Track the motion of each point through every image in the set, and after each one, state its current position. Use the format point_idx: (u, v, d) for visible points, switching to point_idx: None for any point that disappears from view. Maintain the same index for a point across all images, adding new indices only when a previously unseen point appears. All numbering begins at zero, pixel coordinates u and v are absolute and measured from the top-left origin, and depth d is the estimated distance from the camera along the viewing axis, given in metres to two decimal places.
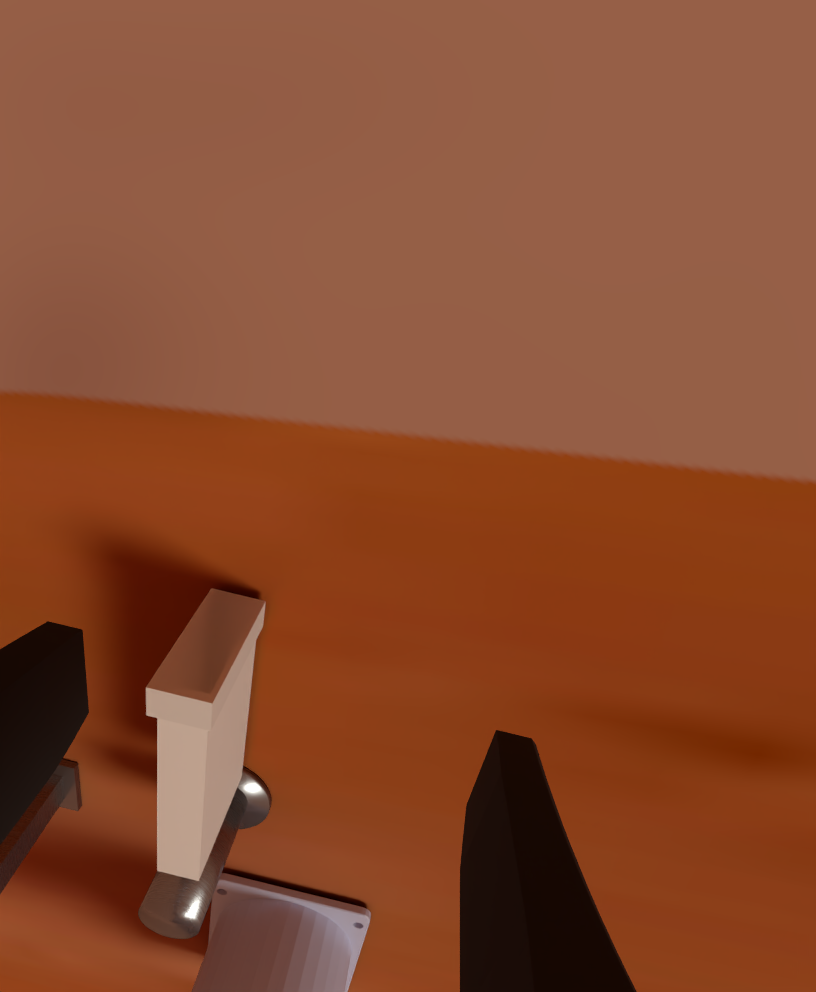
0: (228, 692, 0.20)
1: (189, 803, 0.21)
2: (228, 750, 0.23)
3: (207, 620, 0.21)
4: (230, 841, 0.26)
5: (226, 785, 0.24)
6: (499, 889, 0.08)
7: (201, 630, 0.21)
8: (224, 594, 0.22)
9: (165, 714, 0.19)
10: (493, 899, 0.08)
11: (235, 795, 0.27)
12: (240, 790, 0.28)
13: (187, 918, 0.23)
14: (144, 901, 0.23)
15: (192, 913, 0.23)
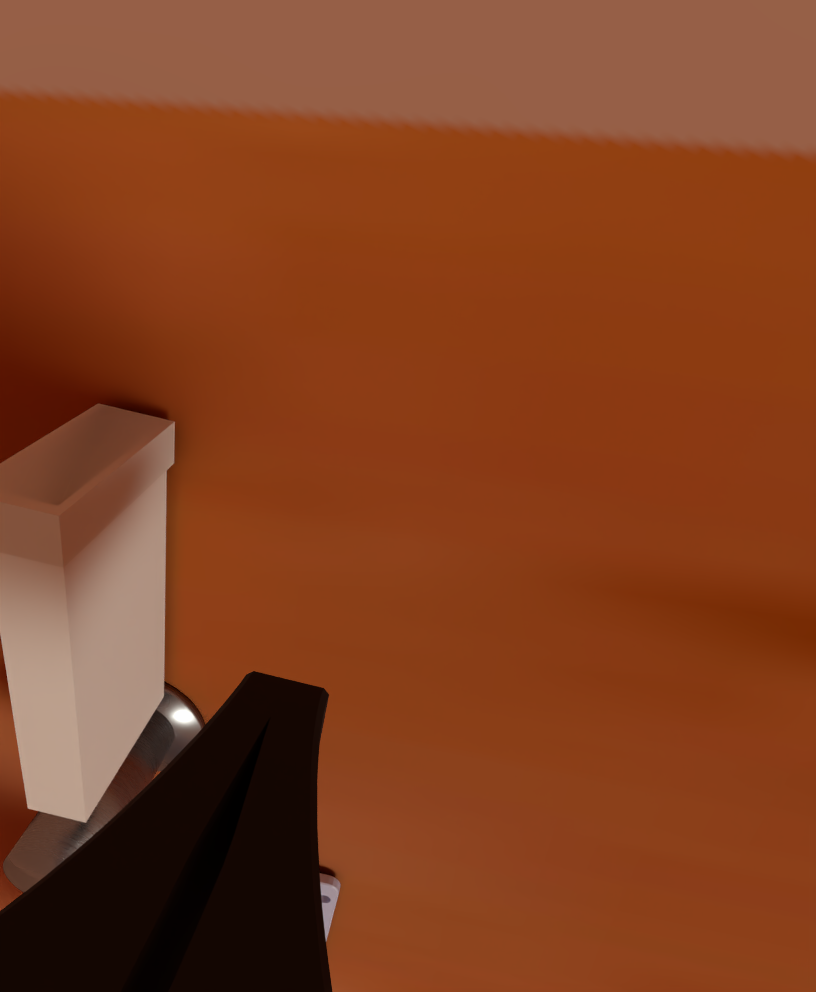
0: (102, 523, 0.13)
1: (55, 700, 0.15)
2: (126, 638, 0.16)
3: (81, 432, 0.14)
4: (144, 779, 0.20)
5: (130, 694, 0.18)
6: None
7: (68, 441, 0.14)
8: (115, 410, 0.16)
9: None
10: None
11: (156, 721, 0.21)
12: (163, 716, 0.21)
13: None
14: (11, 851, 0.17)
15: None
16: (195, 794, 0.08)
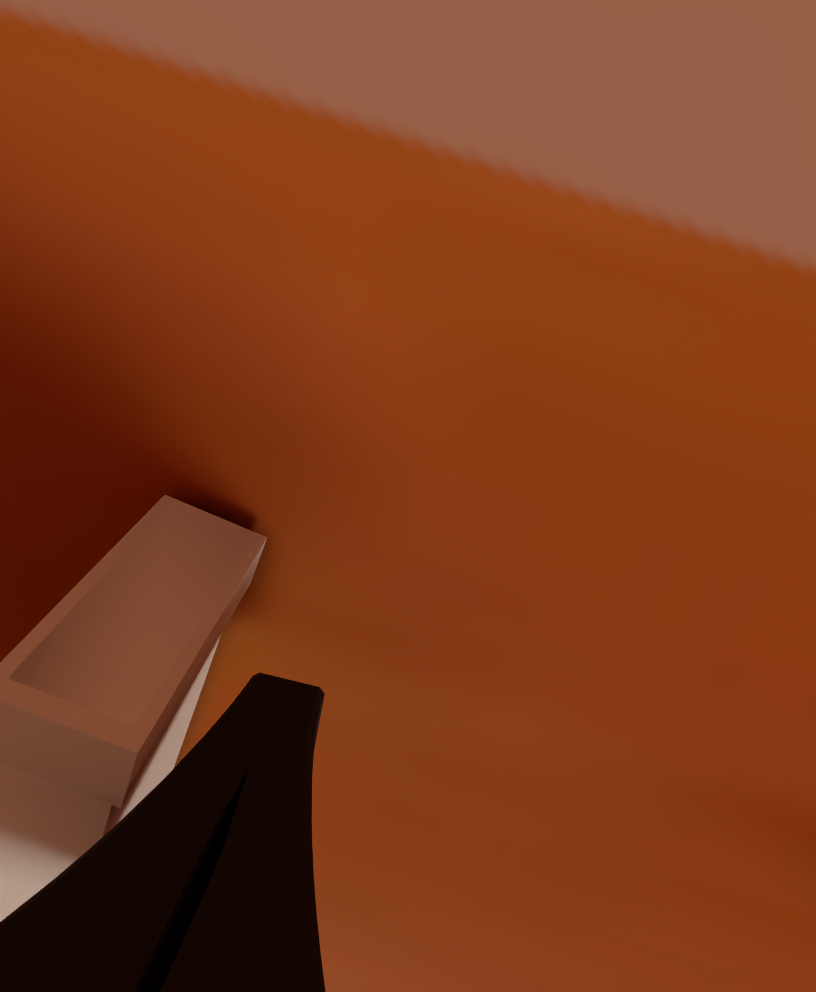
0: (172, 715, 0.09)
1: None
2: None
3: (149, 554, 0.10)
4: None
5: None
6: None
7: (134, 573, 0.10)
8: (189, 510, 0.11)
9: (15, 756, 0.08)
10: None
11: None
12: None
13: None
14: None
15: None
16: (203, 796, 0.08)
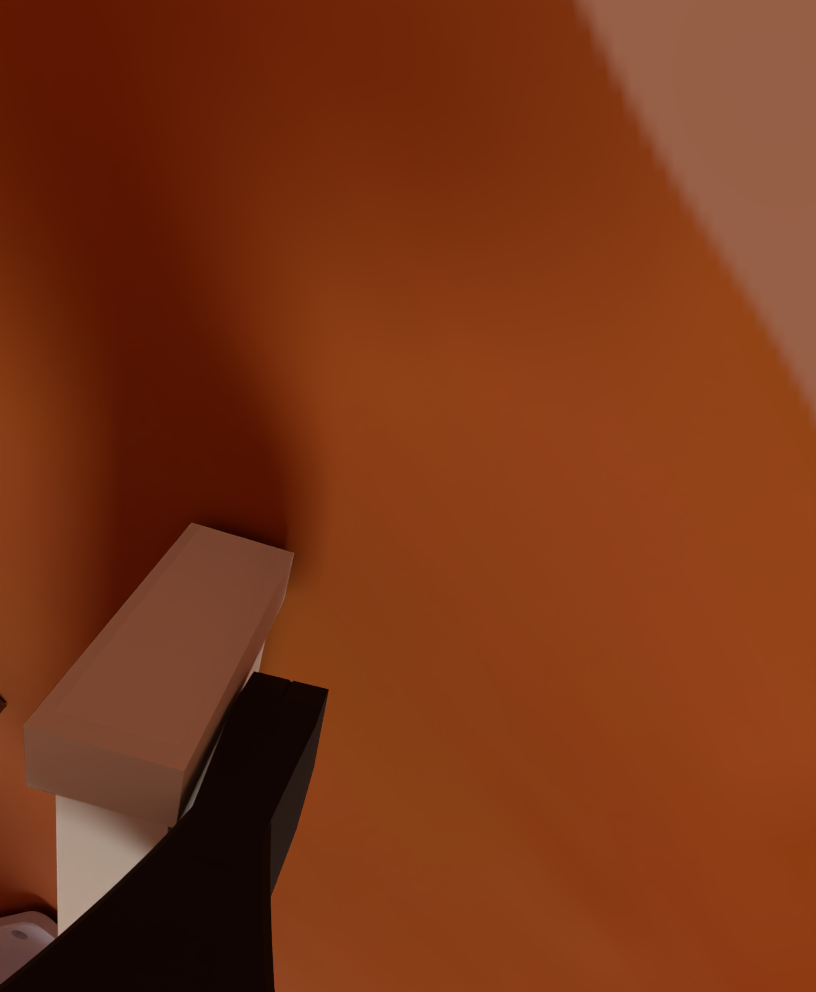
0: (218, 734, 0.09)
1: None
2: None
3: (181, 581, 0.10)
4: None
5: None
6: None
7: (167, 600, 0.10)
8: (216, 535, 0.12)
9: (70, 786, 0.08)
10: None
11: None
12: None
13: None
14: None
15: None
16: (248, 807, 0.08)
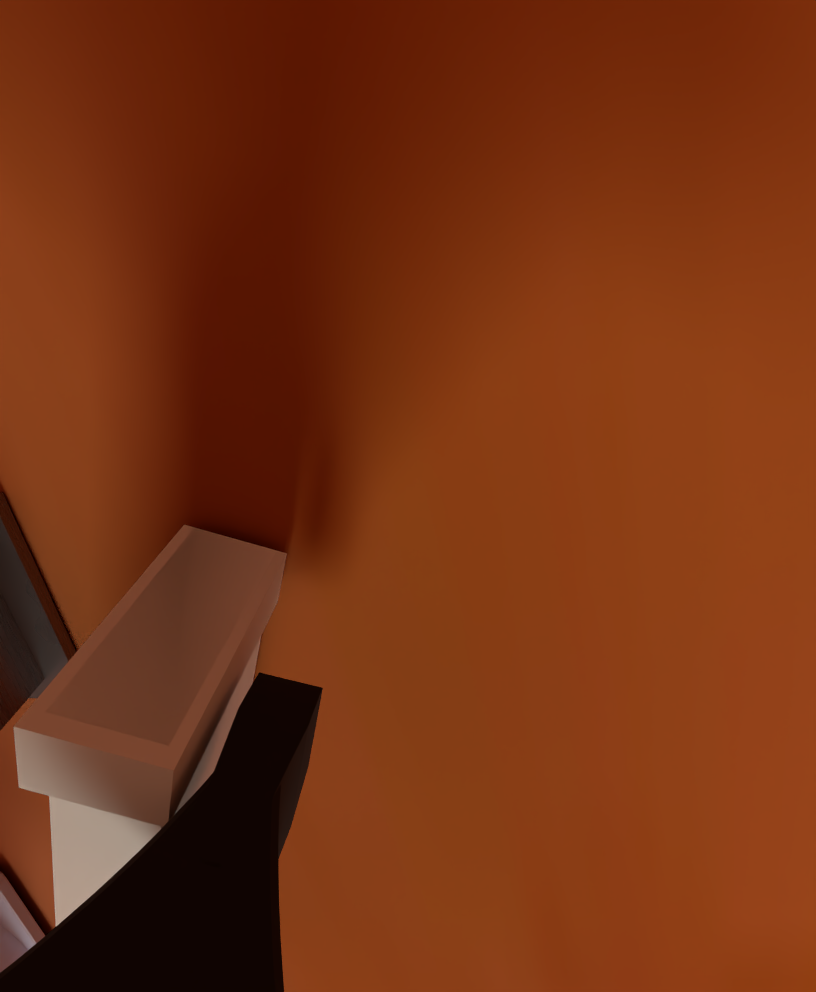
0: (210, 734, 0.09)
1: None
2: None
3: (173, 582, 0.10)
4: None
5: None
6: None
7: (159, 602, 0.10)
8: (208, 537, 0.12)
9: (62, 787, 0.08)
10: None
11: None
12: None
13: None
14: None
15: None
16: (240, 805, 0.08)
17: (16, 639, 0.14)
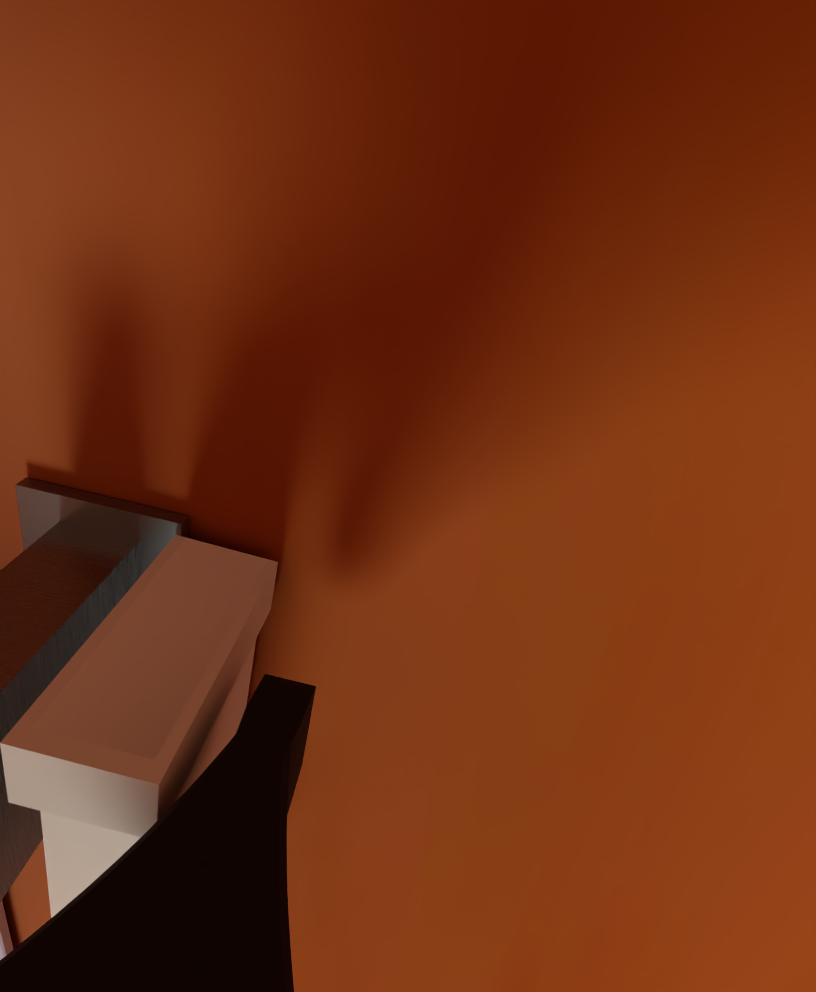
0: (200, 746, 0.09)
1: None
2: None
3: (162, 593, 0.10)
4: None
5: None
6: None
7: (148, 614, 0.10)
8: (199, 547, 0.12)
9: (50, 802, 0.08)
10: None
11: None
12: None
13: None
14: None
15: None
16: (231, 803, 0.08)
17: None
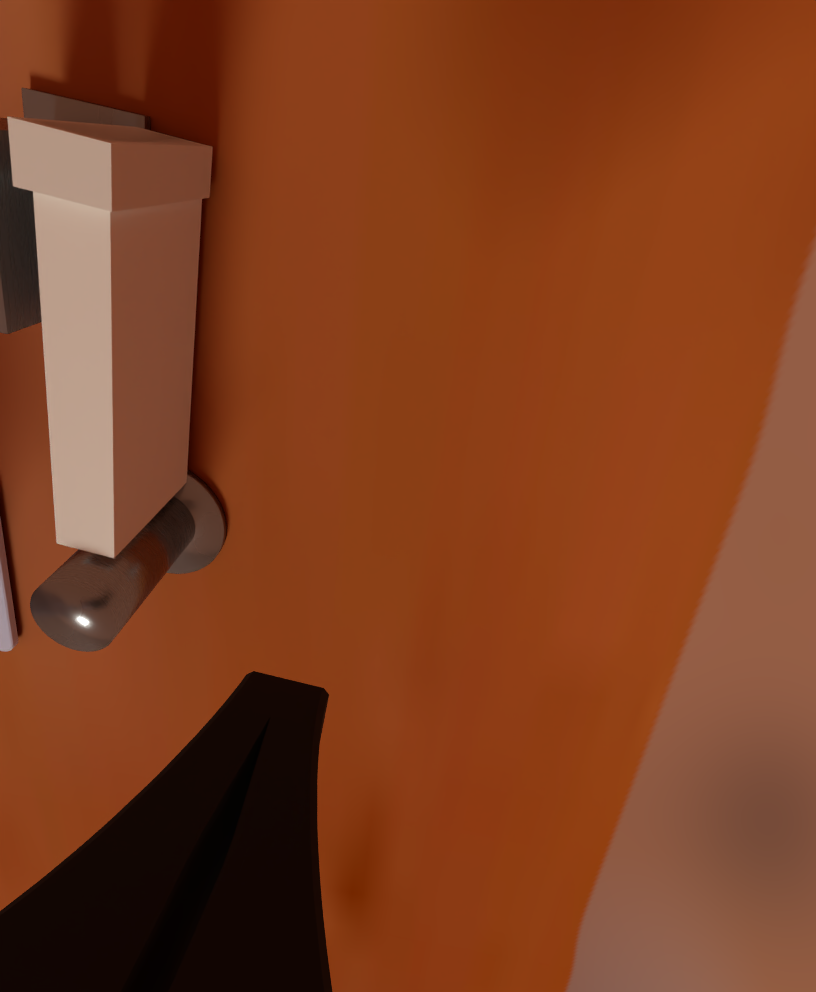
0: (146, 197, 0.13)
1: (92, 398, 0.15)
2: (158, 372, 0.17)
3: (123, 129, 0.14)
4: None
5: (158, 445, 0.18)
6: None
7: (112, 129, 0.14)
8: None
9: (41, 179, 0.12)
10: None
11: None
12: (185, 547, 0.22)
13: (92, 641, 0.17)
14: (95, 590, 0.17)
15: (104, 646, 0.18)
16: (195, 794, 0.08)
17: None
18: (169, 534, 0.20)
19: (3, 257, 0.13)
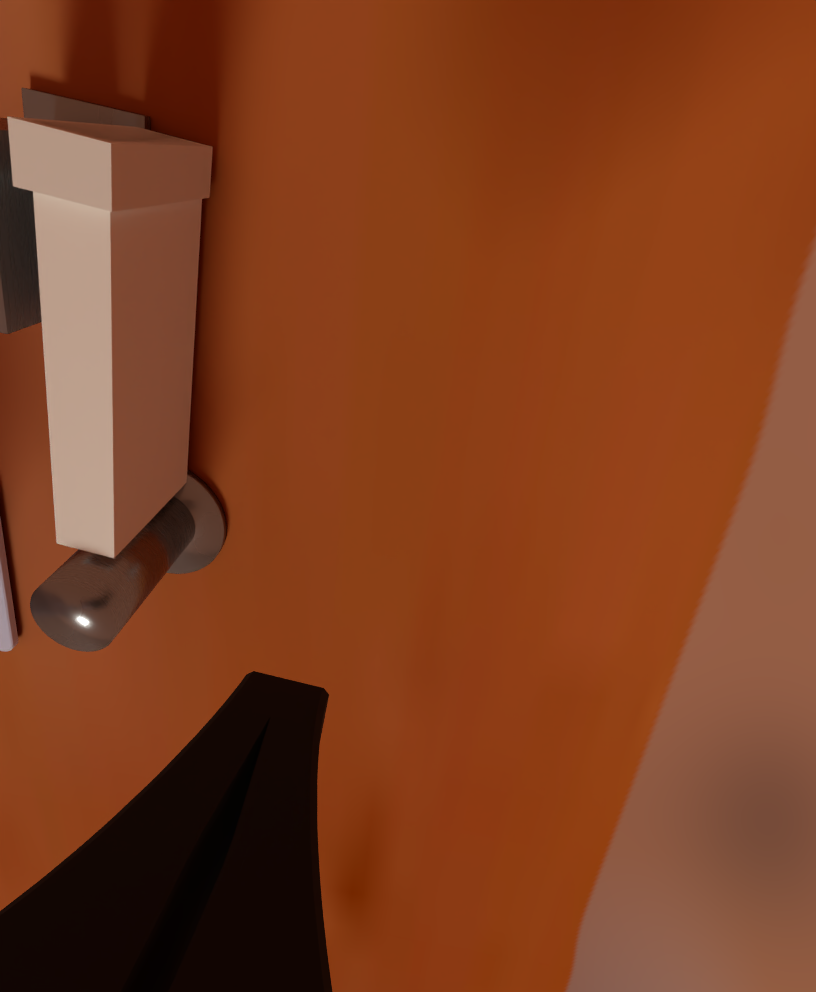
0: (146, 197, 0.13)
1: (92, 398, 0.15)
2: (158, 372, 0.17)
3: (123, 129, 0.14)
4: None
5: (158, 445, 0.18)
6: None
7: (112, 129, 0.14)
8: None
9: (41, 179, 0.12)
10: None
11: None
12: (185, 547, 0.22)
13: (92, 641, 0.17)
14: (95, 590, 0.17)
15: (104, 646, 0.18)
16: (195, 794, 0.08)
17: None
18: (169, 534, 0.20)
19: (3, 257, 0.13)
